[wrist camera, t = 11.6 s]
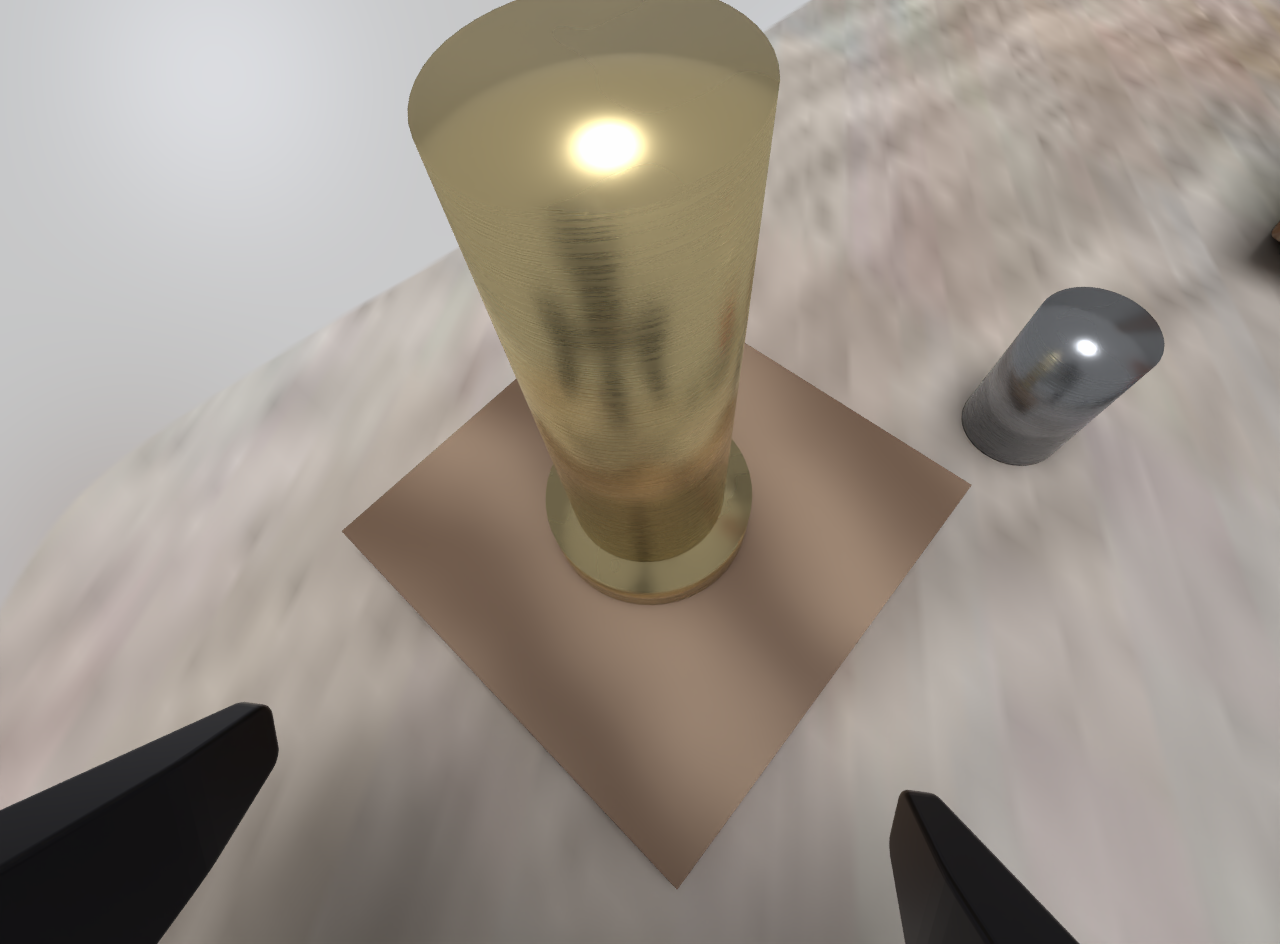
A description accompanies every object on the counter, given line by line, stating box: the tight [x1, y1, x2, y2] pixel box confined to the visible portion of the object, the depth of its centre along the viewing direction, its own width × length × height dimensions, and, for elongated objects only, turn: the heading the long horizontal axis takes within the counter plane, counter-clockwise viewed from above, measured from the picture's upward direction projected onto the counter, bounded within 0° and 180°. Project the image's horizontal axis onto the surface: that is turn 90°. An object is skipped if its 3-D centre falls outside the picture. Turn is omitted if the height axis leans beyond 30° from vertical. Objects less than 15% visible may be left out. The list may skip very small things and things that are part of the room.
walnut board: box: [342, 343, 971, 889], centre depth 19 cm, size 14×14×2 cm
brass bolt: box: [408, 0, 780, 605], centre depth 13 cm, size 6×6×13 cm
